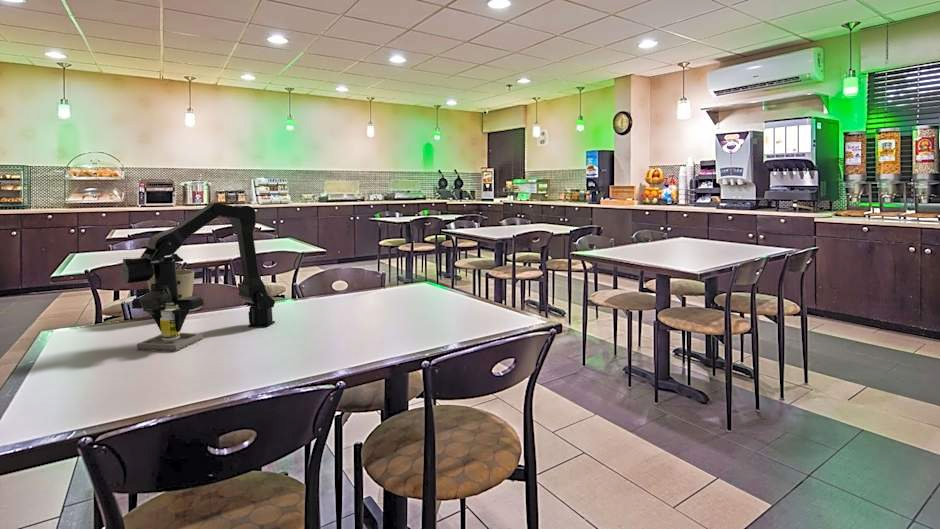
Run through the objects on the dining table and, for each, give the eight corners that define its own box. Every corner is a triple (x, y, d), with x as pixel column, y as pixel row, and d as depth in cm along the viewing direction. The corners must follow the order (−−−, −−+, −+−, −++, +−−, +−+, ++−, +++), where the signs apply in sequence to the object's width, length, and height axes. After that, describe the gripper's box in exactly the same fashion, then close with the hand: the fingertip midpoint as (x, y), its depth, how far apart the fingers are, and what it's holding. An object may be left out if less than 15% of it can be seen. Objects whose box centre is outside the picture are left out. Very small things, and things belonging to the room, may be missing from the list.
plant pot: (143, 318, 187) (138, 273, 185) (187, 310, 198) (184, 268, 196) (159, 325, 178) (155, 278, 175) (205, 316, 189) (201, 272, 186)
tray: (203, 339, 161) (202, 333, 161) (176, 351, 149) (175, 345, 149) (166, 338, 162) (166, 332, 162) (137, 350, 151) (136, 343, 150)
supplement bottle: (172, 341, 153) (169, 312, 152) (157, 340, 154) (155, 311, 152) (184, 336, 157) (181, 308, 156) (170, 335, 158) (167, 308, 157)
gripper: (114, 283, 146) (120, 338, 149) (176, 284, 144) (181, 340, 146) (143, 276, 157) (148, 327, 160) (202, 277, 155) (206, 329, 157)
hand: (170, 331), depth 155 cm, fingers closed on supplement bottle, 5 cm apart
